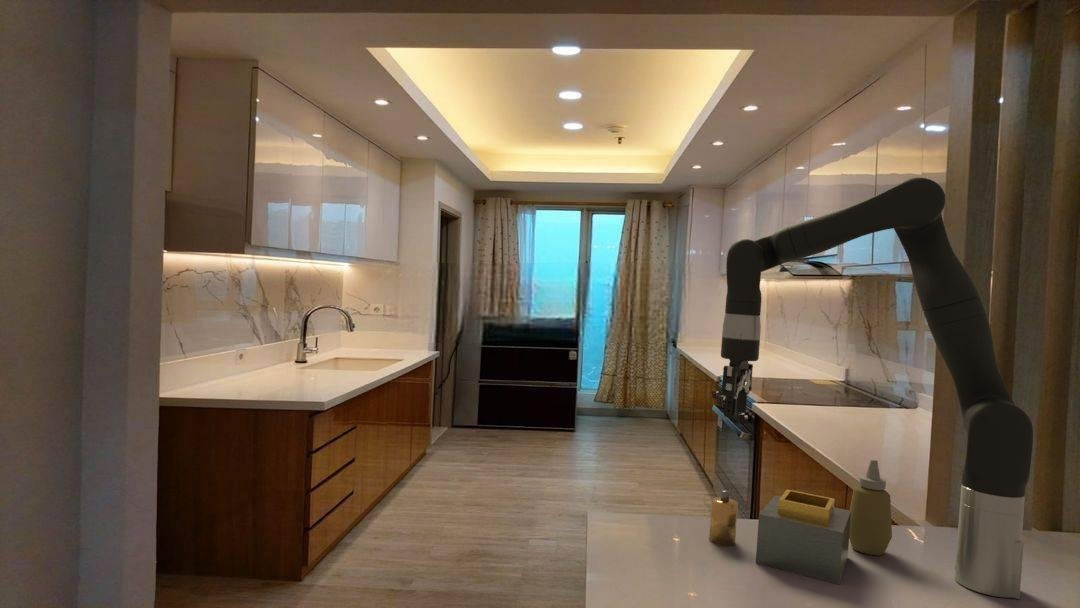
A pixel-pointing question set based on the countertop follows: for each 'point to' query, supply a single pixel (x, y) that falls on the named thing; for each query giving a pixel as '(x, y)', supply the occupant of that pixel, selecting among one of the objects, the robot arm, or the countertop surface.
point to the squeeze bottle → (870, 514)
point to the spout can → (723, 520)
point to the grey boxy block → (804, 536)
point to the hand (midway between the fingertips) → (735, 414)
